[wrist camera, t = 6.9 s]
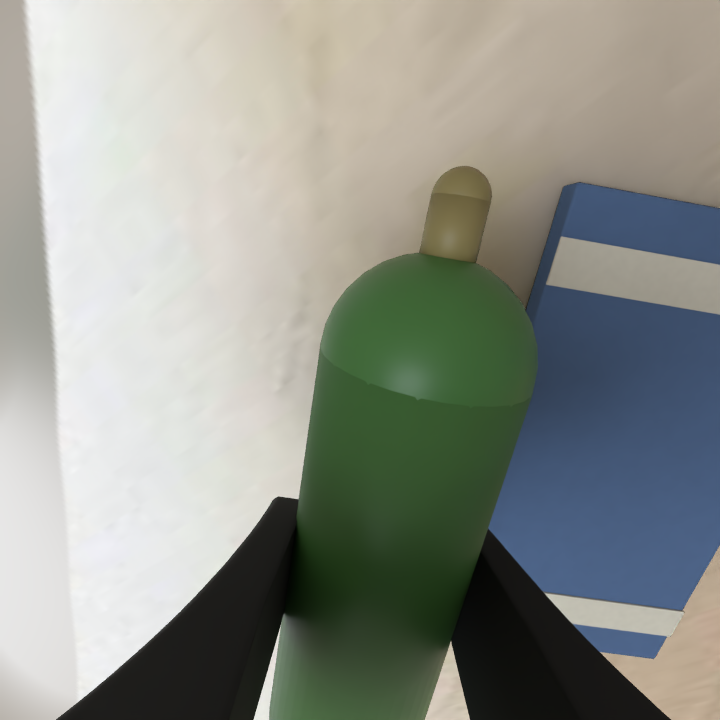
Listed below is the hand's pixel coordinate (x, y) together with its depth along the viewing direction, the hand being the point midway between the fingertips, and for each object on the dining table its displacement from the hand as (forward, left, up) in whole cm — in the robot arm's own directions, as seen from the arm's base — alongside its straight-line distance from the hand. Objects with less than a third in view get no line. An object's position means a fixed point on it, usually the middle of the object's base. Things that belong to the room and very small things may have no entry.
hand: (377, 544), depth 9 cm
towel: (-10, 0, -7) cm, 13 cm away
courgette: (0, 0, -1) cm, 1 cm away
